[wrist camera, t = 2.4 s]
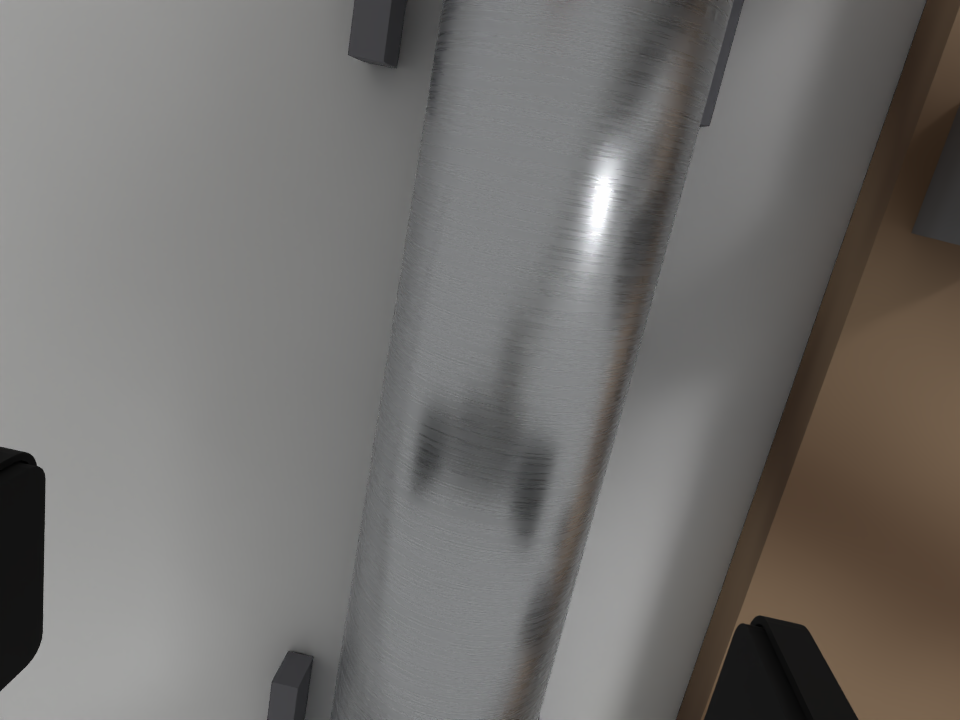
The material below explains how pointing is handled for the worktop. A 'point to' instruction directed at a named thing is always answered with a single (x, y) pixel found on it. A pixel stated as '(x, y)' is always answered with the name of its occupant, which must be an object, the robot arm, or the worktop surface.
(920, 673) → the brown board
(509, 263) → the tube
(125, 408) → the worktop surface
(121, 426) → the worktop surface
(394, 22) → the set of grey slats
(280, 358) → the worktop surface
